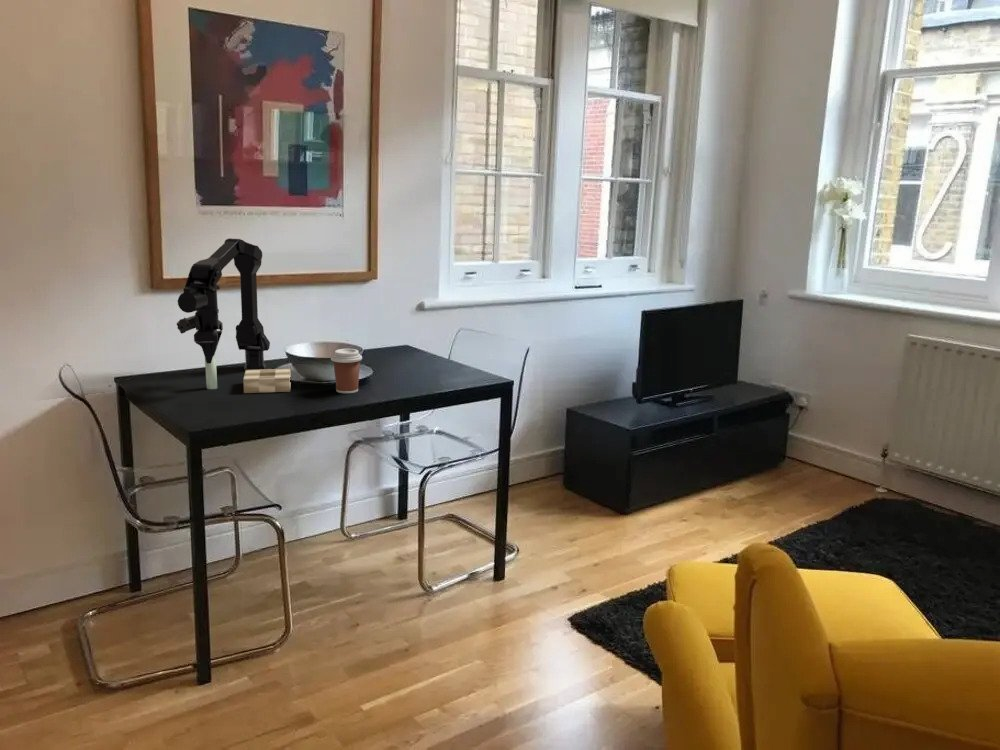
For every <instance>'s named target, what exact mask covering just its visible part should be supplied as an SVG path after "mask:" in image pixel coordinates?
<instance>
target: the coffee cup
mask: <svg viewBox="0 0 1000 750" xmlns="http://www.w3.org/2000/svg"><path fill="white" fill-rule="evenodd" d="M330 360H331V361H332V362H333V371H334V380H335V390H336V392H337V393H339V394H355V393H357V392H359V384H360V383H359V381H360V369H361V368H360V365H361V361H363V356H362V355H361V354H360V352H359V350H358V349H355V348H339V349H336V350H334V354H333V355H331V356H330Z"/></svg>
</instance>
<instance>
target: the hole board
mask: <svg viewBox="0 0 1000 750" xmlns="http://www.w3.org/2000/svg"><path fill="white" fill-rule="evenodd" d="M290 377H291V368H273V369H272V368H265V369H260V370H245V372H244V376H243V383H242V384H243V394H254V393H255V394H259V393H260V394H261V393H280V392H281V393H282V392H283V393H284V392H285V393H286V392H287V393H288V392H291V383H292V381H291V382H290Z"/></svg>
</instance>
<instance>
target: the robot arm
mask: <svg viewBox="0 0 1000 750" xmlns="http://www.w3.org/2000/svg"><path fill="white" fill-rule="evenodd" d="M262 259H263V251H262V250H261V248H260V247H259V246H258V245H254V244H252V243H249V242H247V241H245V240H243V239H241V238H232V237H231V238H226V239H225V240H224V243H223V244H222V245H221V246H219V248H218V249H216V250H215V251H214V252H213V253H212V254H211V255H210V256H209V257H208V258H205V259H200V260H198V261H197V262H195V263H193V264H192V266H190V270H189V273H188V276H187V280H186V282H185V286H184V287H183V292H182V293H181V294H179V296H178V298H177V299H178V300H177V305H178V307H179V309H180V310H181V311H182V312H184V313H188V314H189V313H190V314H191V313H193V312H195V313H194V315H191V316H189V317H184V318H180V319H179V320H178V321H177V322H176V326H177V330H178V331H179V333H180V335H181V334H184V333H186V332H188V331H190V330H191V331H192V330H194V329H195V330H196V331H195V333H194V334H193V342H195V344H196V345H198V346H200V348H201V349H202V353H203V354H204V360H205V359H206V362H207V363H211V361H212V358H213V357H215V354H216V351H217V349H218V346H219V343H220V339H221V336H222V333H223V328H224V327H223V322H222V321H221V320H219V314H220V313H219V310H220V309H219V306H218V290H220V289H221V287H220V286H219V285H218V282H219V281H220V280H221V278H222V277H223V269H224V268H225V267H227V266H228V265H229V263H231V262H232V260H233V261H234V262H233V263H234V267H235V268H236V269H237V271H238V273H239V279H240V305H241V320H240V322H239V324H237V325H236V326H235V332H236V333H235V340H236V343H237V348H238V350H239V351H241V350H243V351H244V353H245V354H244V355H245V357H244V358H245V364H244V368H243V370H244V371H246V370H260V369H266V363H265V361H264V360H265V358H264V356H265V355H264V352H265V351H269V349H270V347H271V346H270V344H271V342H270V340H269V339H268V337H267V336H266V334H265V330H264V329H265V328H264V326H263V324H262V323H261V322H260V320H259V315H258V311H259V310H258V286H257V273H258V272H259V270H260V268H261V266H262Z"/></svg>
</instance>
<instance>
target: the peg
mask: <svg viewBox="0 0 1000 750" xmlns="http://www.w3.org/2000/svg"><path fill="white" fill-rule="evenodd" d="M216 359H217V358H216V357H215V356H213V358H212V361H211V363H207V362H206V359H205V358H204V364H205V365H204V366H205V382H206V389H207V390H217V389H218V377H217V376H218V375H217V374H218V373H217V360H216Z"/></svg>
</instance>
